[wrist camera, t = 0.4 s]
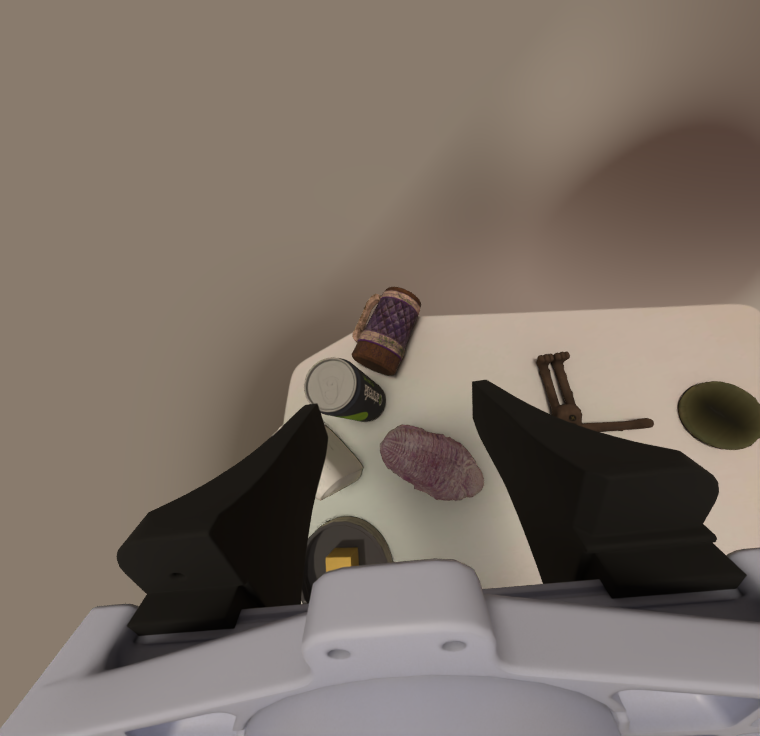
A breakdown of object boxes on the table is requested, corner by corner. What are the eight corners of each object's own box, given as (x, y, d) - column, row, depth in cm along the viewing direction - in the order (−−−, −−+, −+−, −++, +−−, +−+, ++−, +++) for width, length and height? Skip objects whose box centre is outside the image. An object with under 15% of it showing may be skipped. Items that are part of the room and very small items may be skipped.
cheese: (360, 590, 36) (353, 604, 33) (336, 589, 36) (326, 603, 33) (357, 547, 37) (350, 557, 34) (334, 547, 38) (325, 557, 35)
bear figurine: (633, 340, 34) (688, 463, 29) (613, 353, 38) (658, 463, 33) (483, 361, 37) (508, 475, 32) (479, 371, 41) (501, 474, 36)
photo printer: (369, 468, 40) (339, 481, 28) (349, 490, 40) (310, 512, 28) (324, 419, 43) (280, 413, 31) (305, 439, 43) (255, 440, 31)
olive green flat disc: (687, 446, 32) (682, 445, 33) (774, 453, 30) (766, 452, 31) (677, 379, 34) (672, 380, 35) (758, 383, 32) (751, 384, 33)
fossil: (396, 414, 41) (390, 411, 36) (491, 455, 37) (499, 457, 32) (374, 466, 40) (366, 470, 35) (470, 514, 36) (476, 526, 31)
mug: (404, 380, 39) (433, 309, 42) (374, 359, 34) (409, 280, 37) (358, 368, 47) (385, 308, 49) (328, 349, 42) (360, 283, 44)
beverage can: (387, 421, 41) (358, 413, 27) (347, 422, 42) (300, 415, 28) (385, 380, 42) (358, 352, 28) (347, 383, 44) (302, 357, 29)
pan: (398, 623, 35) (395, 637, 32) (307, 620, 37) (297, 633, 34) (388, 514, 38) (385, 519, 35) (305, 518, 40) (296, 523, 38)
